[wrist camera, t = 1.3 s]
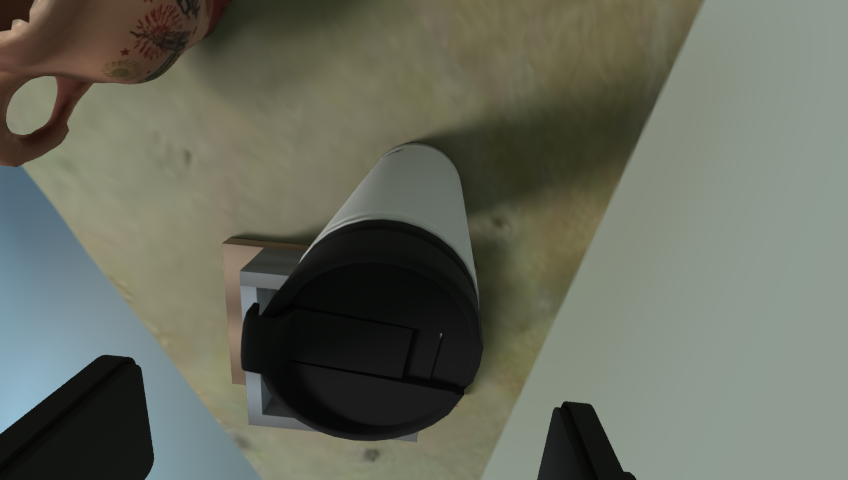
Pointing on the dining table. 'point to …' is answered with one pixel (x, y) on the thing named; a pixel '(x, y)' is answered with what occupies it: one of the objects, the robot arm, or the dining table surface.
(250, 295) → the jig cradle
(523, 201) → the dining table surface
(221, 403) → the dining table surface
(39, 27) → the pink sculpted mug
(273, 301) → the travel mug
